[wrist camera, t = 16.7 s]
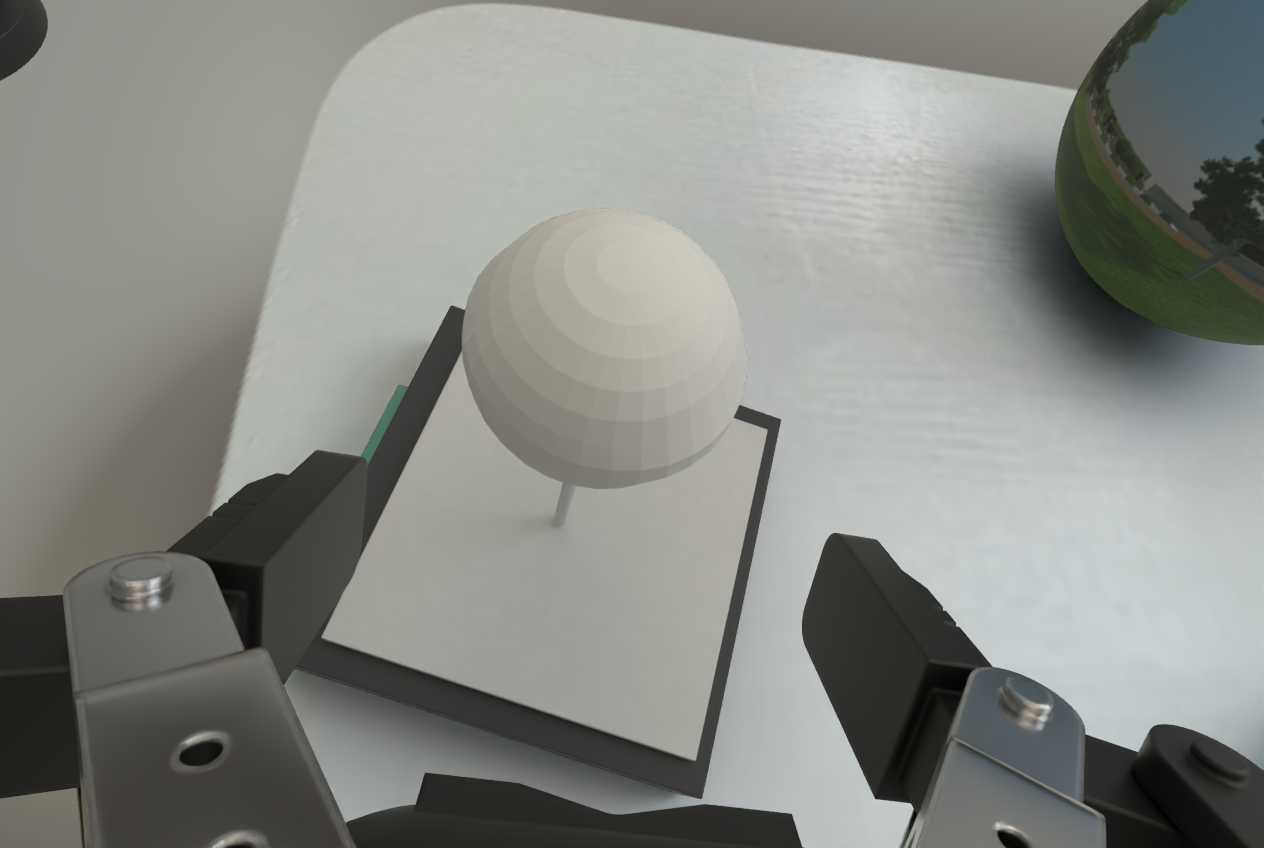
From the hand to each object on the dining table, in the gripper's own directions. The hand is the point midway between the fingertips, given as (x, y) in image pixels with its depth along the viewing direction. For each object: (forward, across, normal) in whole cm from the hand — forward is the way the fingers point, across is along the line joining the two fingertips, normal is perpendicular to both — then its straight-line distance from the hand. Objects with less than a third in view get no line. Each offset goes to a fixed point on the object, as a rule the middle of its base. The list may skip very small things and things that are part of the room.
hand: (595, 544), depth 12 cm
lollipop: (+13, 0, +6) cm, 14 cm away
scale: (+15, 0, +8) cm, 17 cm away
